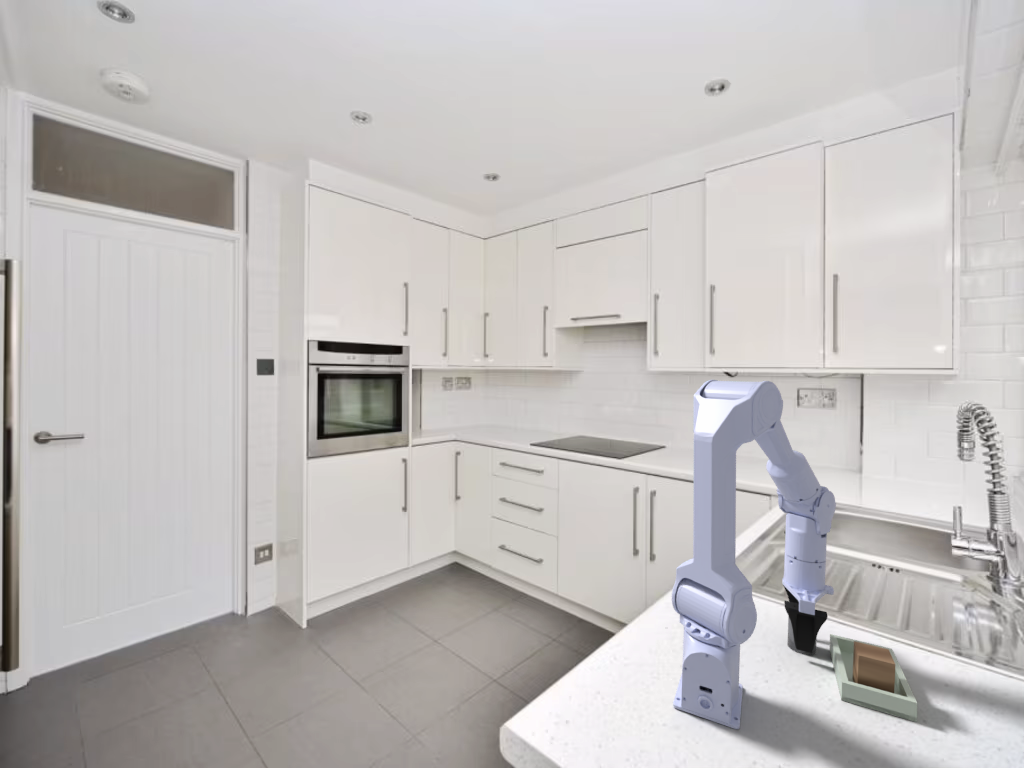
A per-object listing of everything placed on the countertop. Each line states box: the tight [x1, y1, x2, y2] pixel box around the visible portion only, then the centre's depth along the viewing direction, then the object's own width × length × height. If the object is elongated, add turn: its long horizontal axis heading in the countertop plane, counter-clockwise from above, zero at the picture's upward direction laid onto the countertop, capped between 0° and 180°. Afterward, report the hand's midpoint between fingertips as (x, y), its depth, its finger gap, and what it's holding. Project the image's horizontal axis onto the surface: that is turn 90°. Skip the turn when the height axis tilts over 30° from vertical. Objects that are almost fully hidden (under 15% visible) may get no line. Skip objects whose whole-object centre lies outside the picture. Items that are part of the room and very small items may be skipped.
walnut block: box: [853, 641, 895, 693], centre depth 65 cm, size 4×4×6 cm
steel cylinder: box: [787, 615, 818, 656], centre depth 76 cm, size 4×4×6 cm
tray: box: [829, 633, 918, 723], centre depth 68 cm, size 14×8×2 cm, turn 151°
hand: (802, 638), depth 76 cm, fingers open, 7 cm apart
